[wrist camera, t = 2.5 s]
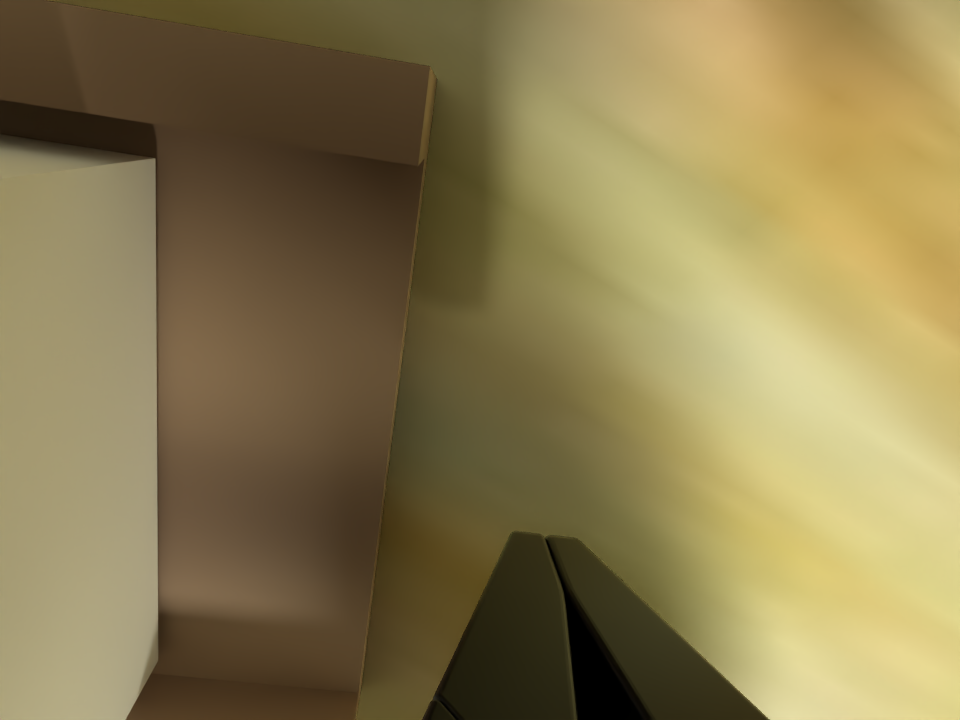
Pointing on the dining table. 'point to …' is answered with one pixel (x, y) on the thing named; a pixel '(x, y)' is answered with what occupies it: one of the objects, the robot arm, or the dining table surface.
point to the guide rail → (253, 330)
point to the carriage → (77, 431)
